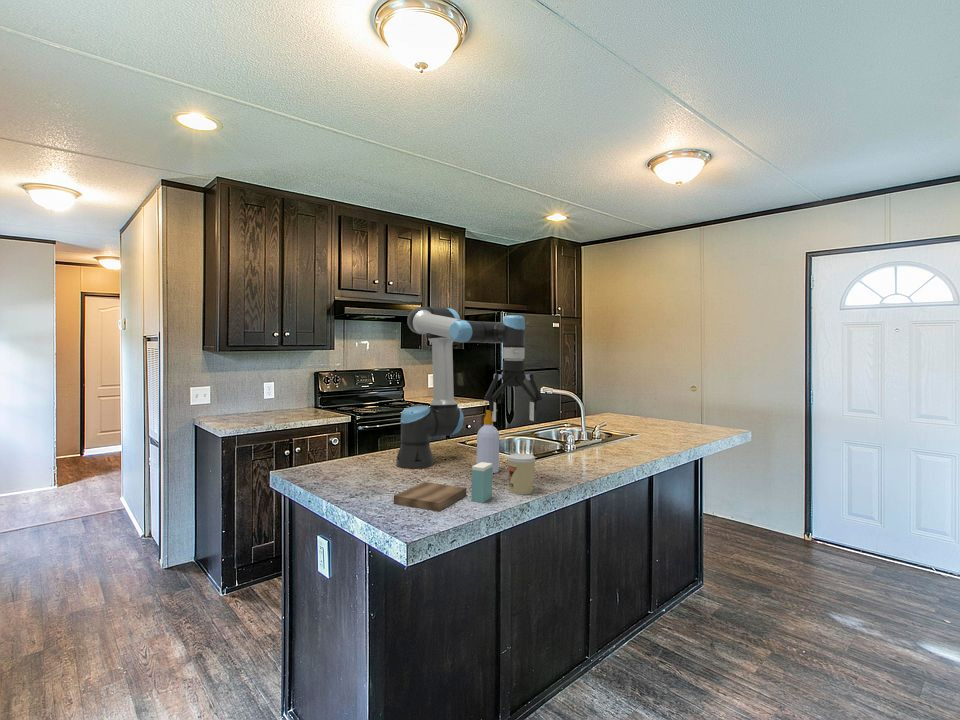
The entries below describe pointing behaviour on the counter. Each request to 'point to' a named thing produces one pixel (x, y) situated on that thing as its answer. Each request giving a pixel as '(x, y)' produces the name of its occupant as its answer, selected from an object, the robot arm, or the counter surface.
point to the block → (481, 482)
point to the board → (430, 496)
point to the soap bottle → (488, 443)
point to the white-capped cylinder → (521, 473)
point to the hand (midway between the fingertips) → (512, 420)
